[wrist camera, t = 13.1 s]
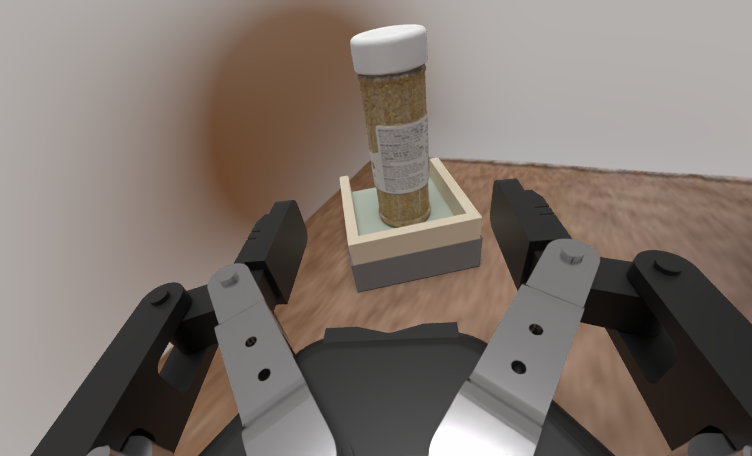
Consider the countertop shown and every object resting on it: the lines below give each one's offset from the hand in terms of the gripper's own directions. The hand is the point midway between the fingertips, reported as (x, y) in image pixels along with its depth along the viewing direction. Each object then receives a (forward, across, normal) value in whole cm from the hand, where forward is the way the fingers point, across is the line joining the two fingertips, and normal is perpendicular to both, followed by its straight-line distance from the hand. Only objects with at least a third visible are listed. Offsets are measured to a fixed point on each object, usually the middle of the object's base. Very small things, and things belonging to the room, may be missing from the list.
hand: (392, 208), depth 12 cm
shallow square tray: (+11, 0, +12) cm, 16 cm away
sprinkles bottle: (+11, 0, +9) cm, 14 cm away
